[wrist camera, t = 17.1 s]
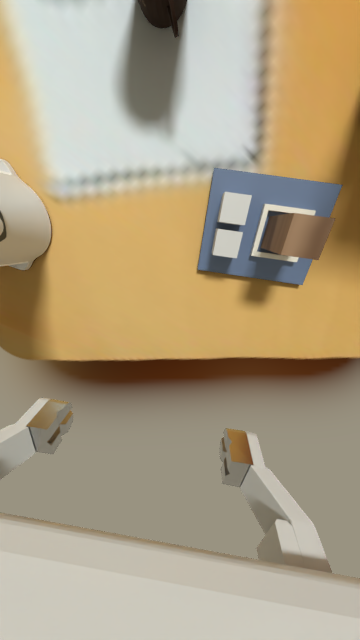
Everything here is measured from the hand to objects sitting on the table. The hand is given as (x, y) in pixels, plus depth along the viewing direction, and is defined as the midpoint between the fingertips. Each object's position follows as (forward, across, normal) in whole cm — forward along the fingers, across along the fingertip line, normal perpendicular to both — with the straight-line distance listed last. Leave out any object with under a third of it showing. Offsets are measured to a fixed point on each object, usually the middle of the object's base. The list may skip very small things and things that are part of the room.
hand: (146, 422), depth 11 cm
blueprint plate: (+33, +12, +10) cm, 37 cm away
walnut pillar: (+32, +15, +10) cm, 37 cm away
